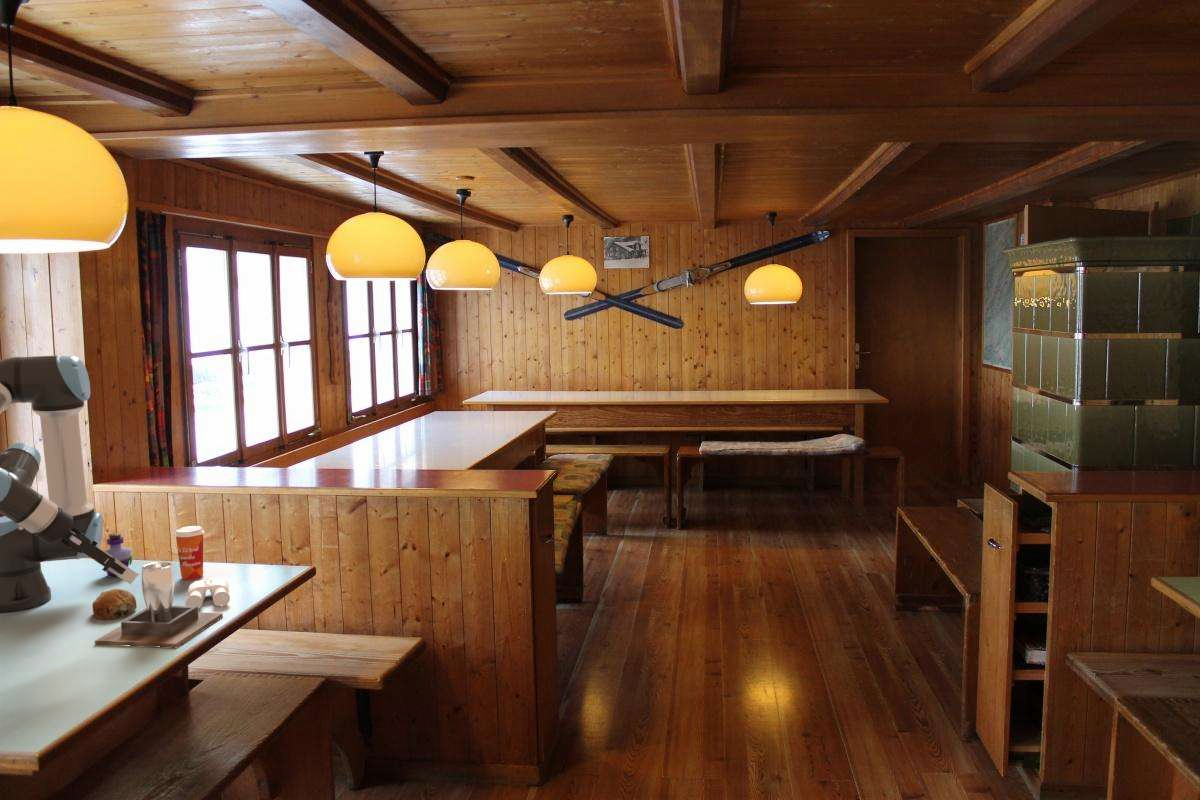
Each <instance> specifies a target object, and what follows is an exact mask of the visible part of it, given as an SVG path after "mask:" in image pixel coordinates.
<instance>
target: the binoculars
mask: <svg viewBox="0 0 1200 800" xmlns="http://www.w3.org/2000/svg"><path fill="white" fill-rule="evenodd" d="M187 589H188V590H187V598H186V599H185V606H195V607H198V610H199V609H200V608H201V607H202V606H203V604H204V603H203V602H204V601H205V600H206V594H207V593H206V592H207V590H209V592H210V595H211V596H210V597H211V598H212V602H213V604H214V605H215V606H217V607H219V606H221V605H222V607H225V606H226V605H228V604H229V603H230V601H231V596H230V593H229V592H230V589H229V583H228V581H227V580H226V579H224V578H222V577H218V578H211V577H209V576H208V577H205V579H201V580H195V581H194V582H192V583H190V585H189V586H188V588H187Z"/></svg>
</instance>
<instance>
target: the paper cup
mask: <svg viewBox="0 0 1200 800" xmlns="http://www.w3.org/2000/svg"><path fill="white" fill-rule="evenodd" d="M204 534H205V530H204V529H203V527H202V526H200V525H199V526H198V525H189V526H183V527H180V528H178V529H176V531H175V533H174V536H175V539H176V547H177V554H178V562H179V563H178V564H179V569H180V576H181V579H182V580H183V579H184V581H190V580H191V581H193V580H198V579H201V578H202V577H203V576H204ZM200 577H201V578H200ZM197 578H198V579H197Z"/></svg>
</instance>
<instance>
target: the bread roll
mask: <svg viewBox="0 0 1200 800" xmlns="http://www.w3.org/2000/svg"><path fill="white" fill-rule="evenodd" d="M136 609H137V600H136V597H135V595H134V594H133V593H132V592H130V591H129V590H126V589H122V588H112V589H110V590H109V589H108V590H105V591H102V592H101V593H100V594H99V596H97V597H96V598H95V600H94V601H93V602H92V612H93V613H92V615H94V618H95V619H96V620H100V619H102V620H101V621H107V620H106V619H110V620H115V619H116V618H117V619H121V618H120V617H122V618H124V616H125V617H127V616H129V615H131V614H132V613H134V612H135V611H134V610H136ZM133 611H134V612H133ZM128 614H129V615H128Z"/></svg>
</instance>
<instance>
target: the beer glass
mask: <svg viewBox="0 0 1200 800" xmlns="http://www.w3.org/2000/svg"><path fill="white" fill-rule="evenodd" d="M141 589H142V595H143V600H144V603H145V606H146V608H147V611H148V622H169V621H171V620H172V619H174V617H173V612H172V606H173V604H174V603H173V602H174V594H175V576H174V569H173V563H172V562H170V561H154V562H151V563H148V564H143V566H142V567H141Z"/></svg>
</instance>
